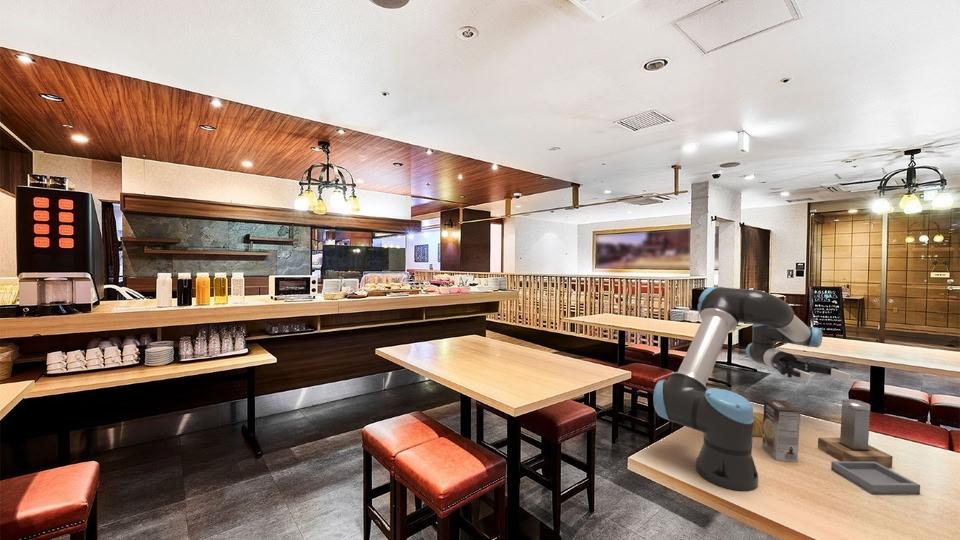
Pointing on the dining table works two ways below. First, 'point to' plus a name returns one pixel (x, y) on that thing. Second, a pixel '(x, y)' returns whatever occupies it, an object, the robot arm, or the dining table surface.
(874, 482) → the tray
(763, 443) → the coffee box
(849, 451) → the block
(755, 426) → the croissant
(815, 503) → the dining table surface
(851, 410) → the pin
